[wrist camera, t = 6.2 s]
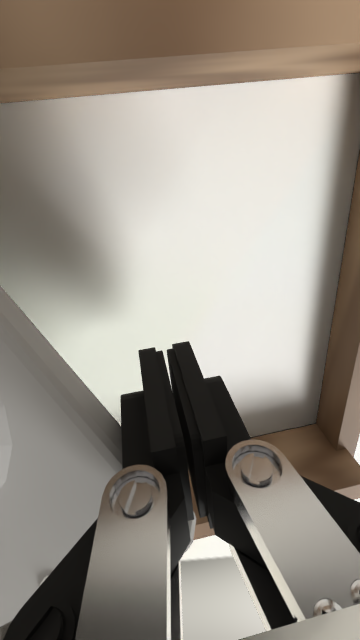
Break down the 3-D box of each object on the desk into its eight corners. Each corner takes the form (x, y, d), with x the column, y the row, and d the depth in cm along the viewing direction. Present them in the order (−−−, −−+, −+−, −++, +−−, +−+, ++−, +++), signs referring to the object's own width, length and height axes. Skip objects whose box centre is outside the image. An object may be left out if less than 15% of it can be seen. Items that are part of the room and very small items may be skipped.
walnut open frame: (412, 23, 10) (562, -43, 7) (331, 433, 20) (378, 493, 16) (-144, 60, 8) (-325, -5, 5) (57, 495, 18) (43, 578, 14)
